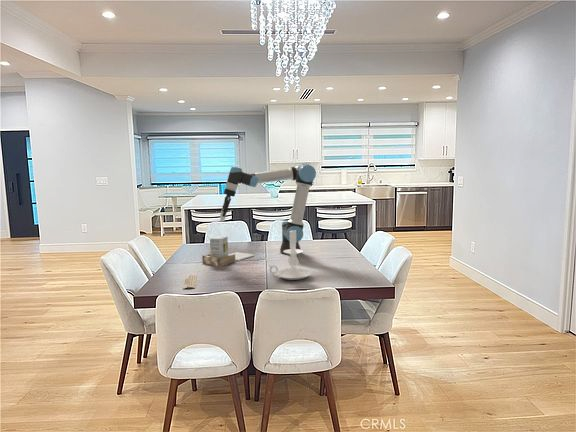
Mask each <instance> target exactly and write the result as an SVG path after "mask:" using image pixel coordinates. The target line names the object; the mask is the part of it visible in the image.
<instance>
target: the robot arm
mask: <svg viewBox="0 0 576 432" xmlns="http://www.w3.org/2000/svg"><path fill="white" fill-rule="evenodd" d="M228 173H229V174H228V176H227V181H226V182H225V188H224V191H223V194H224V195H225V197H224V200H223V205H222V207H221V211H220V214H219V221H220V222H225V220H226V216H227V213H228V210H229V206H230V203H231V200H232V198H231V197H235V196H236V192H237V190H238V186H239V184H243V185H245V186H249V187H252V188H256V187H257V185H258V184H263V183H273V182H279V181H287V180H289V181H290V180H291V181H295V184H296V191H295V194H294V200H293V204H292V209H291V214H290V218H289V219H288V220H287V221H286V220H285V221H282V222H281V237H282V238H281V239H282V241H281V246H280V248H279V249H280V250H279V251H280V253H281V254H283V255H289V254H288V253H284V252H283V251H284V250H288V249H291V248H290V231H295V230H296V249H300V250H302V249H301V246H300V243H299V242H300V241H301V240H302V239H303V238H304V231H303V230H304V227H305V224H304V222H303V219H304V215H305V210H306V205H307V200H308V197H309V192H310V191H309V190H310V188H311V187H312V186H313V183H314V180H315V178H316V177H317V171H316V169H315V168H314V166H312V165H311V164H307V163H305V164H304V163H303V164H299V165H296V166H291V167H289V168H285V169H284V168H283V169H277V170H268V171H260V172H251V173H246V172H243V168H240V167H238V166H233V165H232V166H231V167H230V171H229V172H228Z"/></svg>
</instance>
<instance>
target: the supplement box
mask: <svg viewBox="0 0 576 432" xmlns="http://www.w3.org/2000/svg"><path fill="white" fill-rule="evenodd" d="M228 240H229V239H228V236H224V235H223V236H221V235H220V236H219V235H216V236H215V235H214V236H213V237H210V238H209V249H210V250H209V251H210V253H209V254H210V255H211V257H216V258H221V257H225V256H228V254H229V242H228Z"/></svg>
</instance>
